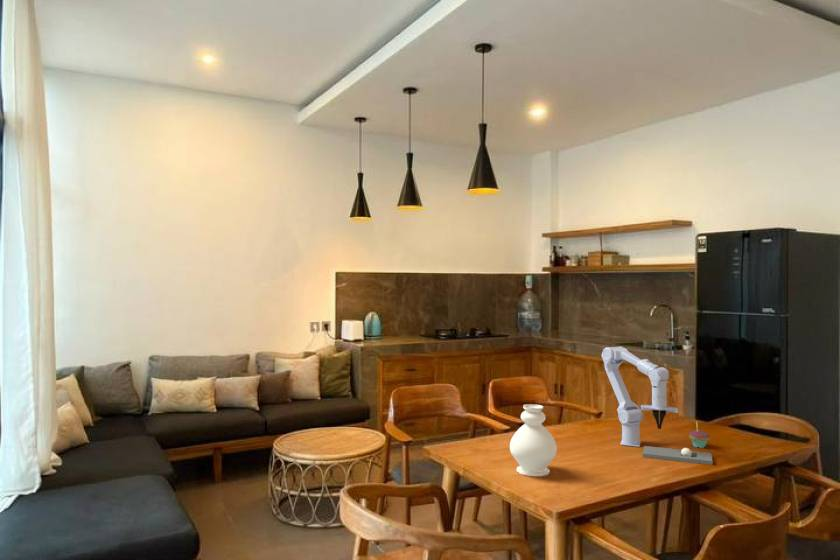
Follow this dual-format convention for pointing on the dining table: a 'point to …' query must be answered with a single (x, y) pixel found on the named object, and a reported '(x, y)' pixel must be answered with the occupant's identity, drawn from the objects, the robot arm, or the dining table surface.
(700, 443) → the cupcake
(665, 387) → the robot arm
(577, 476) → the dining table surface
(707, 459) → the board
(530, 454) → the decorative vase
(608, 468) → the dining table surface
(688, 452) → the ball
